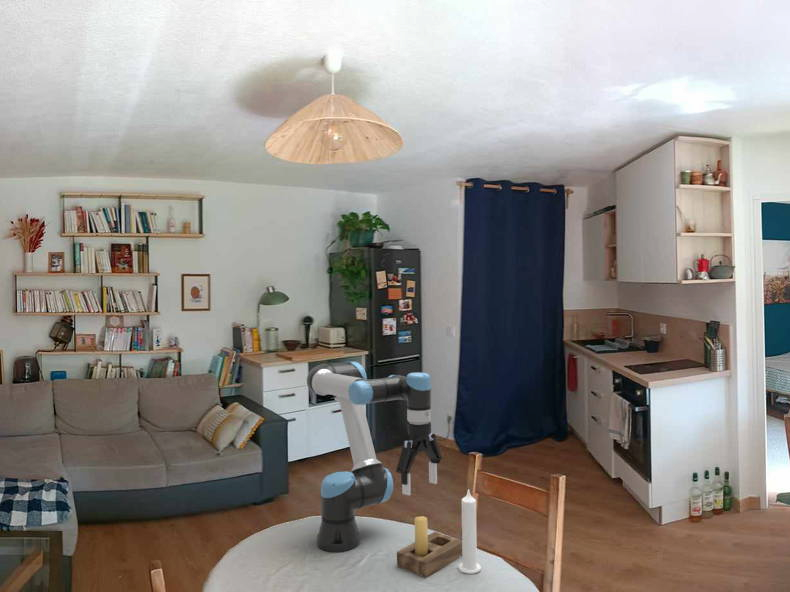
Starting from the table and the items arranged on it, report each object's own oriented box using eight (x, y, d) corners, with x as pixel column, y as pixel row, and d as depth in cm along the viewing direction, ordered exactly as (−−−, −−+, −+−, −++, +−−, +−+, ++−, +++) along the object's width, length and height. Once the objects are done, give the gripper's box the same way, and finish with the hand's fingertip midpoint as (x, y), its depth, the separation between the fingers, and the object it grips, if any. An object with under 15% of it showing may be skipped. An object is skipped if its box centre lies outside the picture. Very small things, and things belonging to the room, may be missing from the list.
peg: (412, 566, 182) (412, 519, 182) (420, 561, 185) (420, 515, 185) (422, 569, 180) (422, 522, 180) (430, 565, 183) (429, 518, 183)
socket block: (396, 565, 183) (396, 551, 183) (434, 544, 198) (434, 531, 198) (426, 577, 175) (426, 563, 175) (463, 554, 190) (463, 541, 190)
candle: (480, 575, 176) (479, 494, 176) (457, 573, 177) (456, 492, 177) (481, 564, 183) (480, 486, 183) (459, 562, 184) (458, 485, 184)
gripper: (402, 431, 170) (403, 502, 171) (451, 416, 189) (452, 480, 189) (384, 427, 175) (385, 496, 175) (433, 413, 194) (434, 476, 194)
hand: (420, 488), depth 182 cm, fingers open, 13 cm apart
